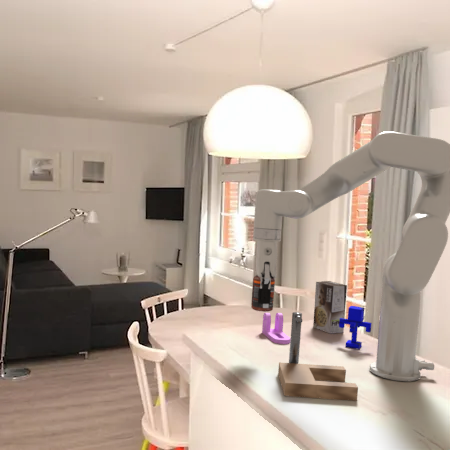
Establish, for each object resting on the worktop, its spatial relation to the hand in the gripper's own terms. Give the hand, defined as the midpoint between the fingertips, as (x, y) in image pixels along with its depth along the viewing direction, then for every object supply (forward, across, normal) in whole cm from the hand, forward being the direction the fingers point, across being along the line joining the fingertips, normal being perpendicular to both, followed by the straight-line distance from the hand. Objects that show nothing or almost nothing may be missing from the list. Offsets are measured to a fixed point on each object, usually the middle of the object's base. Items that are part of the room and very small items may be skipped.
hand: (262, 300), depth 140 cm
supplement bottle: (+3, 0, 0) cm, 3 cm away
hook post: (+15, -13, -8) cm, 21 cm away
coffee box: (+16, +34, -26) cm, 46 cm away
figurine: (+16, +15, -30) cm, 37 cm away
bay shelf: (+15, -21, -12) cm, 29 cm away
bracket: (+16, +20, -7) cm, 26 cm away
